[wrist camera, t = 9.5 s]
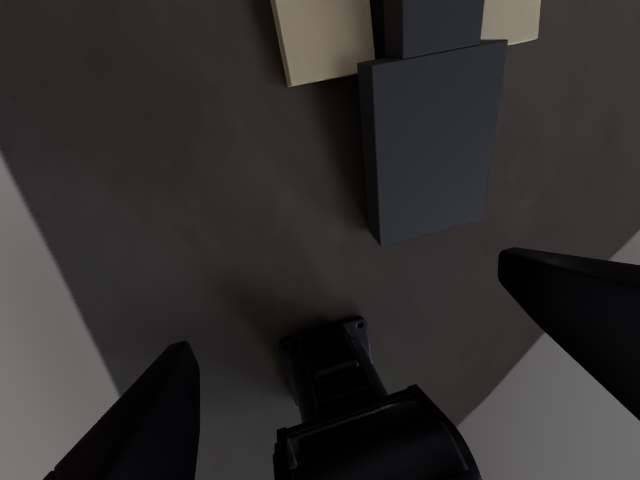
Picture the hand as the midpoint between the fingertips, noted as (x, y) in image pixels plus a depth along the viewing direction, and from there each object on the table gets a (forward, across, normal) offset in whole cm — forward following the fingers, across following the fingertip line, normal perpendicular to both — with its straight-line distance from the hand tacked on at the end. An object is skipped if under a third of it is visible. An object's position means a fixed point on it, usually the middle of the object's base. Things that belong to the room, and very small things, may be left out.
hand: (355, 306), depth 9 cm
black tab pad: (+11, -8, -3) cm, 14 cm away
